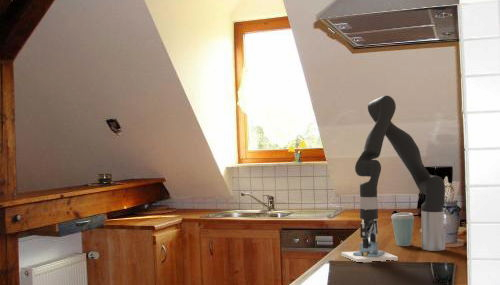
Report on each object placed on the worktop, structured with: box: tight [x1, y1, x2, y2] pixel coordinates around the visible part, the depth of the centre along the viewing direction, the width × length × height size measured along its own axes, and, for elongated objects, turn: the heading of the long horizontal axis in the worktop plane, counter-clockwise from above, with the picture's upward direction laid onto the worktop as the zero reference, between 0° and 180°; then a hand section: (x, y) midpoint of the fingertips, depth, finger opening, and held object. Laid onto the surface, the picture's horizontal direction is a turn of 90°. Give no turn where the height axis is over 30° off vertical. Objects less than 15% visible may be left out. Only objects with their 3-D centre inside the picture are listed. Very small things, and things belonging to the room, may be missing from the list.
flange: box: [353, 241, 386, 258], centre depth 237 cm, size 10×10×5 cm
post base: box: [340, 242, 399, 263], centre depth 237 cm, size 18×16×6 cm
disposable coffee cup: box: [390, 212, 415, 247], centre depth 268 cm, size 11×11×15 cm
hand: (369, 246), depth 237 cm, fingers open, 8 cm apart
